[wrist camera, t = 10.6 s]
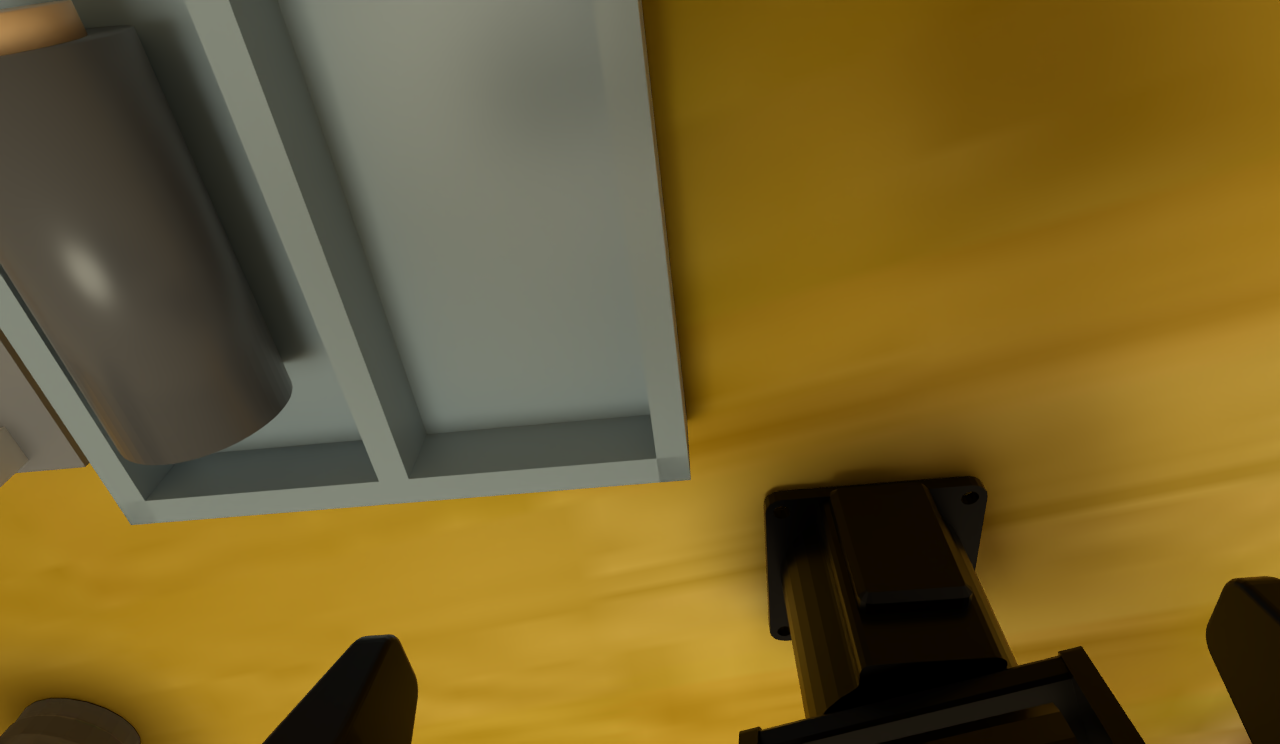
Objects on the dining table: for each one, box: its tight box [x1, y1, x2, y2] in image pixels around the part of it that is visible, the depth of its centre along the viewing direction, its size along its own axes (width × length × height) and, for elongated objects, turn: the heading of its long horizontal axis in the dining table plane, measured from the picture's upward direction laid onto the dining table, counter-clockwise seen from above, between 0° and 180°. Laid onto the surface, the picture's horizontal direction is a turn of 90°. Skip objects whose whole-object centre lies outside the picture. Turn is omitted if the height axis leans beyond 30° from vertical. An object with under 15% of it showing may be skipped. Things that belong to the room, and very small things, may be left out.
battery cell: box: [0, 0, 293, 465], centre depth 16 cm, size 9×4×4 cm, turn 7°
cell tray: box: [0, 0, 691, 525], centre depth 17 cm, size 16×15×2 cm
